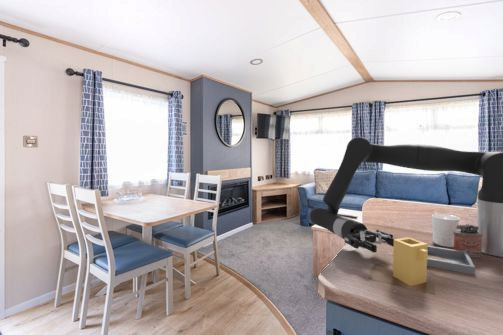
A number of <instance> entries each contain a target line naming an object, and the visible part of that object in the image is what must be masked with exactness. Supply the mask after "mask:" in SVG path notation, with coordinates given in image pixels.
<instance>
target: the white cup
mask: <svg viewBox="0 0 503 335" xmlns="http://www.w3.org/2000/svg"><path fill="white" fill-rule="evenodd" d="M460 220H461V218H460V217H459V216H455V215H452V214H445V213H444V214H443V213H434V214H432V215H431V229H432V242H433V243H434V244H435V245H437V246H442V247H446V248H454V231H460V229H457V225H460Z"/></svg>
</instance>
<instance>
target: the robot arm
mask: <svg viewBox="0 0 503 335" xmlns="http://www.w3.org/2000/svg"><path fill="white" fill-rule="evenodd" d="M362 163H366V164H367V163H372V164H374V163H375V164H385V165H389V166H390V165H391V166H394V167H400V168H405V169H412V170H420V171H426V172H427V171H429V172H459V173H466V174H471V175H476V176H480V177H482V182H481V187H480V189H479V190H478V192H477V211H476V226H479V229H478V232H482V233H483V236H482V246H481V253H482V254H483V253H484V254H485V255H486V254H487V255H489V256H495V257H500V258H503V151H463V150H456V149H454V148H453V149H452V148H448V147H443V146H437V145H429V144H420V143H419V144H418V143H404V144H402V143H401V144H395V145H394V144H393V145H390V144H389V145H385V144H375V143H371V142H370V141H369V139H367V138H365V137H364V136H357V137H354V138H352V139H350V141H349V142H347V145H346V149H345V151H344V155H343V158H342V160H341V163H340V166H339V168H338V170H337V172H336V173H335V176H334V178H332V179H333V180H332V181H331V183H329V186H328V187H327V188H328V189H327V190H326V192H325V194H324V195H323V197H322V201H323V203H324V204H326V205H327V210H326V209H324V208H322V207H314V208H313V209H311V211H310V212H309V220H310V221H311V223H312V224H314V225H316V226H319V227H321V228H323V229H325V230H327V231H329V232H330V233H333V234H334V235H336V236H337V237H339V238H340V239H343V240H344V243H346V244H347V245H349V246H350V247H353V248H354V249H357V250H358V249H359V248H361V249H366V250H367V251H370V252H372V253H377V251H378V250H377V248H378V246H377V244H378V245H382V244H386V245H389V246H390V247H392V248H394V239H395V238H394V234H393V233H391V232H387V231H384V230H381V229H376V230H375V231H373V230H371V229H368V228H367V226H366V225H365V224H364V223H362V222H359V221H357V220H355V219H351V218H349V217H344V216H342V215H340V214H338V213H339V209H340V207H341V204H342V202H343V200H344V198H345V196H346V194H347V192H348V190H349V188H350V185H351V183H352V180H353V178H354V177H355V176H354V175H355V173H356V172H357V170H358V169H359V167H360V165H362ZM377 239H378V240H377Z"/></svg>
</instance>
